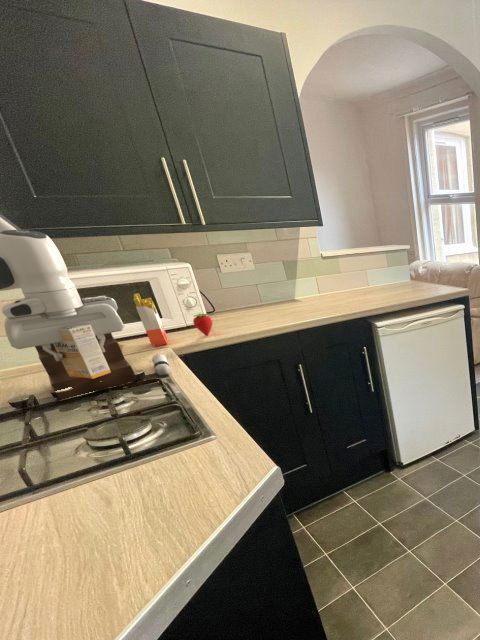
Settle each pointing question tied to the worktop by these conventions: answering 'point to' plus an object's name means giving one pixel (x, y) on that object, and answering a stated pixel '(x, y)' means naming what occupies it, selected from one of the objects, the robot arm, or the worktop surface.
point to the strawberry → (203, 323)
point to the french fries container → (150, 320)
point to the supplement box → (81, 352)
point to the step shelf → (62, 380)
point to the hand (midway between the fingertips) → (81, 356)
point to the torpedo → (161, 364)
